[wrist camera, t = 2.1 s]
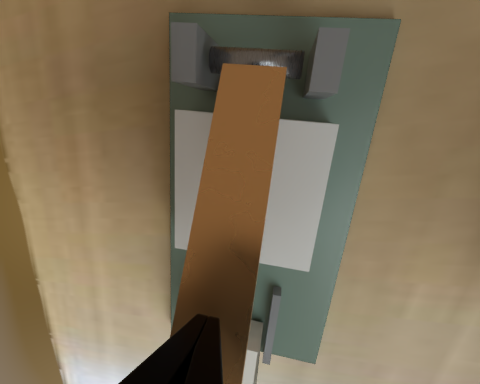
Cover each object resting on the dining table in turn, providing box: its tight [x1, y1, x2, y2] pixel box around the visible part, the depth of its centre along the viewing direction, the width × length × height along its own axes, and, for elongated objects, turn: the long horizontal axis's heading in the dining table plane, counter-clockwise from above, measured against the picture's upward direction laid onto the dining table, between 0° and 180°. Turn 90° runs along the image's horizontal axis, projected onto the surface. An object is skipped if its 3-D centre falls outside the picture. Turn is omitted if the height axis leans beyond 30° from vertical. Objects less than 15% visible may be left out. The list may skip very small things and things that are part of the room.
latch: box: [242, 320, 263, 384], centre depth 18 cm, size 4×6×6 cm
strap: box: [170, 46, 305, 384], centre depth 11 cm, size 4×15×1 cm, turn 175°
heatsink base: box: [169, 13, 401, 365], centre depth 16 cm, size 13×25×5 cm, turn 175°
